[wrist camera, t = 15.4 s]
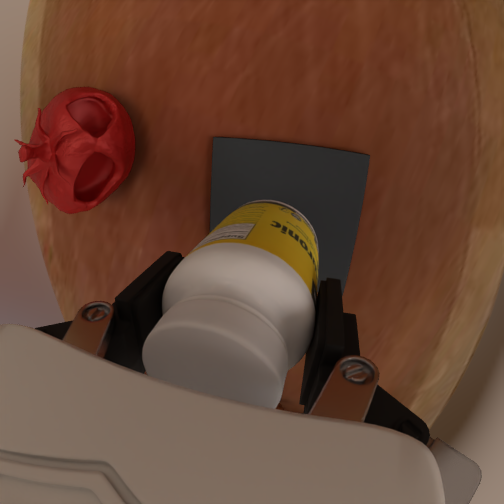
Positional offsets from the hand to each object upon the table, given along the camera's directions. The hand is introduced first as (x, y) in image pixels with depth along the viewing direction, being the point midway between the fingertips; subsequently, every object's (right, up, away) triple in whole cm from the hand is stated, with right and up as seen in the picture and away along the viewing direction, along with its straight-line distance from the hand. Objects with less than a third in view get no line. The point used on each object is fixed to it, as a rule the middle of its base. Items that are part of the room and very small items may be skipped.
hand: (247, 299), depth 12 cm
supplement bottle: (+1, +2, +4) cm, 5 cm away
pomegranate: (-13, +11, +11) cm, 20 cm away
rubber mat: (+2, +4, +10) cm, 11 cm away
